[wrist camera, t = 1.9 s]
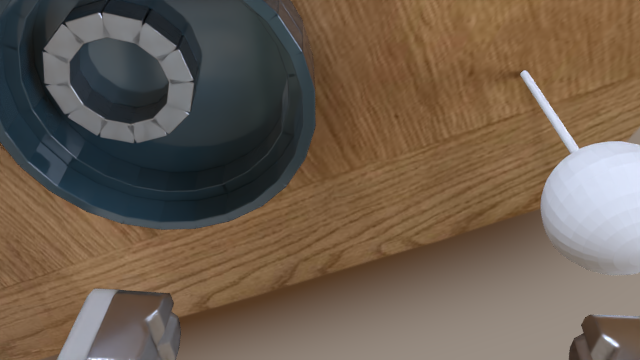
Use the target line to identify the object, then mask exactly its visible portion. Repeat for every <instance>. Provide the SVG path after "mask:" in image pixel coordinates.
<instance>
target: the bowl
mask: <svg viewBox="0 0 640 360" xmlns="http://www.w3.org/2000/svg"><path fill="white" fill-rule="evenodd" d="M98 1H101V0H0V143H1V144H2V145H3V146H4V148H5V149H6V150H7V151H8V153H9V154H10V155H11V156H12V158H13V159H14V160H15V161H16V163H17V164H18V165H20V167H21V168H22V169H24V170H25V171H26V172H27V173H28V174H30V175H31V176H32V177H33V178H34V179H36V180H37V181H38V182H39V183H41V184H42V185H43V186H44V187H45V188H47V189H48V190H49V191H51V192H52V193H54V194H56V195H57V196H59V197H61V198H63V199H65V200H66V201H68V202H70V203H72V204H74V205H76V206H77V207H79V208H81V209H83V210H85V211H86V212H89V213H92V214H95V215H98V216H101V217H104V218H107V219H110V220H113V221H116V222H118V223H121V224H128V225H134V226H140V227H147V228H153V229H161V230H167V229H196V228H202V227H206V226H211V225H215V224H219V223H224V222H228V221H230V220H234V219H236V218H238V217H240V216H242V215H245V214H247V213H249V212H251V211H253V210H255V209H257V208H259V207H262V206H263V205H264V204H265V203H267V202H268V201H269V200H270V199H272V198H273V197H274V196H275V195H276V194H278V193H279V192H280V191H281V190H283V189H284V188H285V187H286V185H288V183H289V182H290V180H291V179H292V177H293V176H294V175H295V173H296V172H297V170H298V169H299V167H300V166H301V164H302V163H303V162H304V160H305V158H306V156H307V152H308V149H309V146H310V143H311V140H312V136H313V133H314V130H315V126H316V118H315V77H314V60H313V53H312V50H311V47H310V43H309V40H308V37H307V33H306V30H305V27H304V24H303V20H302V18H301V17H300V15H299V13H298V12H297V10H296V9H295V7H294V5H293V4H292V2H291V1H290V0H120V1H124V2H128V3H133V4H137V5H141V6H146V7H149V11H150V10H151V9H153V10H154V11H156V12H157V13H158V14H159V15H161V16H162V17H163V18H164V19H166V20H167V21H168V22H169V23H171V24H172V25H173V26H174V27H176V28H177V29H178V30H180V31H181V32H182V34H181V36H182V35H184V36H185V38H186V40H187V42H188V44H189V47H190V49H191V51H192V53H193V55H194V58H195V60H196V62H197V64H198V67H197V68H198V69H199V70H198V77H197V84H196V91H195V97H194V101H193V105H192V109H191V112H190V113H189V115H188V116H187V117H186V118H185V119H184V120H183V121H182V122H181V123H180V124H179V125H178V126H177V127H176V128H175V129H174V130H173V131H172V132H171V133H170V134H167V136H164V137H160V138H156V139H152V140H148V141H144V142H140V143H136V141H135V143H129V142H123V141H118V140H112V139H107V138H101V137H100V134H99V135H98V136H96V135H95V134H93V133H92V132H90V131H88V130H87V129H85V128H84V127H82V126H81V125H79V124H77V123H76V122H74V121H73V120H71V119H69V118H68V117H67V115H68V114H64V113H63V112H62V110H61V109H60V107H59V106H58V104H57V103H56V101H55V100H54V98H53V97H52V95H51V94H50V92H49V91H48V89H47V88H46V84H45V83H44V74H43V56H42V51H43V50H44V49H43V48H44V46H45V45H46V44H47V42H48V41H49V40H50V38H51V37H52V36H53V34H54V33H55V31H56V30H57V29H58V27H59V26H60V25H61V23H62V22H63V21H64V19H65V18H66V17H67V16H68V14H69V13H70V12H71V10H74V9H75V8H78V7H81V6H84V5H88V4H91V3H95V2H98ZM109 1H110V0H109ZM79 53H80V71H81V72H82V74H83V75H84V77H85V79H86V80H87V82H88V84H89V85H90V87H91V88H92V90H94V91H95V92H97V93H98V94H100V95H101V96H103V97H104V98H106V99H107V100H109V101H110V102H112V103H114V104H120V105H125V106H130V107H135V108H139V107H143V106H146V105H150V104H154V103H158V102H159V101H160V100H161V99H162V98H163V97H164V96H165V94H166V93H167V92H168V84H169V81H168V79H167V78H166V76H165V74H164V72H163V70H162V68H161V66H160V64H159V62H158V60H157V59H155V58H154V57H153V56H151V55H150V54H149V53H147V52H146V51H145V50H143V49H142V48H141V47H139V46H138V45H137V44H135V43H130V42H126V41H121V40H117V39H112V38H104V39H100V40H97V41H93V42H89V43H86V44H84V45H83V46H82V47H81V48H80V50H79Z"/></svg>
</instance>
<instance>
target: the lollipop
mask: <svg viewBox="0 0 640 360" xmlns="http://www.w3.org/2000/svg"><path fill="white" fill-rule="evenodd" d="M520 75H521V77H522V79H523V80H524V82H525V83H526V85H527V86H528V88H529V90H530V91H531V93H532V94H533V96H534V97H535V99H536V100H537V102H538V104H539V105H540V107H541V108H542V110H543V111H544V113H545V114H546V116H547V118H548V119H549V121H550V122H551V124H552V125H553V127H554V128H555V130H556V132H557V133H558V135H559V136H560V138H561V139H562V141H563V142H564V144H565V146H566V147H567V149H568V150H569V152H570V153H571V154H570V155H568V156H567V157H566V158H565V159H563V160H562V161H561V162H560V163H559V164H558V165H557V166H556V168H555V169H554V170H553V171H552V173H551V174H550V176H549V178H548V179H547V181H546V184H545V186H544V189H543V193H542V197H541V215H542V221H543V225H544V228H545V231H546V234H547V236H548V238H549V239H550V241H551V243H552V244H553V246H554V247H555V249H556V250H557V251H558V252H559V253H560V254H561V255H563V256H564V257H566V258H567V259H569V260H571V261H572V262H574V263H576V264H578V265H579V266H581V267H583V268H585V269H587V270H591V271H594V272H598V273H602V274H607V275H630V274H636V273H640V145H637V144H633V143H627V142H621V141H614V142H602V143H596V144H592V145H589V146H586V147H583V148H581V149H579V148H578V146H577V145H576V143H575V142H574V140H573V139H572V137H571V136H570V134H569V133H568V131H567V130H566V128H565V127H564V125H563V124H562V122H561V121H560V119H559V118H558V116H557V115H556V113H555V112H554V110H553V109H552V107H551V106H550V104H549V103H548V101H547V100H546V98H545V97H544V95H543V94H542V92H541V91H540V89H539V88H538V86H537V85H536V83H535V82H534V80H533V79H532V77H531V76H530V74H529V73H528V72H527V71H522V72H521V74H520Z"/></svg>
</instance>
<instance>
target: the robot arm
mask: <svg viewBox="0 0 640 360" xmlns="http://www.w3.org/2000/svg"><path fill="white" fill-rule="evenodd" d="M173 304H174V302H173V300H172V297H171V295H170V293H156V292H141V291H126V290H114V289H94V290H93V291H92V292H91V293H90V294H89V295H88V296H87V298H86V300H85V302H84V304H83V306H82V308H81V311H80V313H79V315H78V317H77V319H76V321H75V323H74V325H73V327H72V329H71V331H70V333H69V336H68V338H67V340H66V342H65V344H64V346H63V348H62V350H61V352H60V354H59V356H58V358H57V360H176V357H177V354H178V350H179V345H180V335H181V330H180V322H179V318H178V316H177V315H175V314H174V313H173V312H171V310H172V307H173ZM581 326H582V329H583V332H584V333H583V334H581V335H579V336H578V337H576V338H574V340H573V342H572V345H571V347H570V352H569V360H640V316H616V315H615V316H614V315H589V316H587V317H585V319H584V321H583V323H582V325H581Z"/></svg>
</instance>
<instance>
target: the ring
mask: <svg viewBox="0 0 640 360" xmlns="http://www.w3.org/2000/svg"><path fill="white" fill-rule="evenodd" d="M181 34H182V32H181V31H180V30H178V29H177V28H176V27H174V26H173V25H172V24H171V23H169V22H168V21H167V20H166V19H164V18H163V17H162V16H161V15H159V14H158V13H157V12H156V11H154V10H153V9H151V10H150V11H149V7H146V6H141V5H137V4H133V3H128V2H124V1H120V0H110V1H109V0H101V1H98V2H95V3H91V4H88V5H84V6H81V7H78V8H75V9H74V10H71V12H70V13H69V14H68V16H67V17H66V18H65V19H64V21H63V22H62V23H61V25H60V26H59V27H58V29H57V30H56V31H55V33H54V34H53V36H52V37H51V38H50V40H49V41H48V42H47V44H46V45H45V46H44V48H43V49H44V50H43V51H42V56H43V74H44V83H45V84H46V88H47V89H48V91H49V92H50V94H51V95H52V97H53V98H54V100H55V101H56V103H57V104H58V106H59V107H60V109H61V110H62V112H63V113H64V114H68V115H67V117H68V118H69V119H71V120H73V121H74V122H76V123H77V124H79V125H81V126H82V127H84V128H85V129H87V130H88V131H90V132H92V133H93V134H95V135H96V136H98V135H99V134H100V137H101V138H107V139H112V140H118V141H123V142H129V143H135V141H136V143H140V142H144V141H148V140H152V139H156V138H160V137H164V136H167V134H170V133H171V132H172V131H173V130H174V129H175V128H176V127H177V126H178V125H179V124H180V123H181V122H182V121H183V120H184V119H185V118H186V117H187V116H188V115H189V113H190V112H191V109H192V105H193V101H194V97H195V91H196V84H197V77H198V70H199V69H198V68H197V67H198V64H197V62H196V60H195V58H194V55H193V53H192V51H191V49H190V47H189V44H188V42H187V40H186V38H185V36H184V35H182V36H181ZM104 38H112V39H117V40H121V41H126V42H130V43H135V44H137V45H138V46H139V47H141V48H142V49H143V50H145V51H146V52H147V53H149V54H150V55H151V56H153V57H154V58H155V59H157V60H158V62H159V64H160V66H161V68H162V70H163V72H164V74H165V76H166V78H167V79H168V81H169V84H168V92H167V93H166V94H165V96H164V97H163V98H162V99H161V100H160V101H159V102H158V103H154V104H150V105H146V106H143V107H139V108H135V107H130V106H125V105H120V104H114V103H112V102H110V101H109V100H107V99H106V98H104V97H103V96H101V95H100V94H98V93H97V92H95V91H94V90H92V88H91V87H90V85H89V84H88V82H87V80H86V79H85V77H84V75H83V74H82V72H81V71H80V53H79V50H80V48H81V47H82V46H83V45H84V44H86V43H89V42H93V41H97V40H100V39H104Z"/></svg>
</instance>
